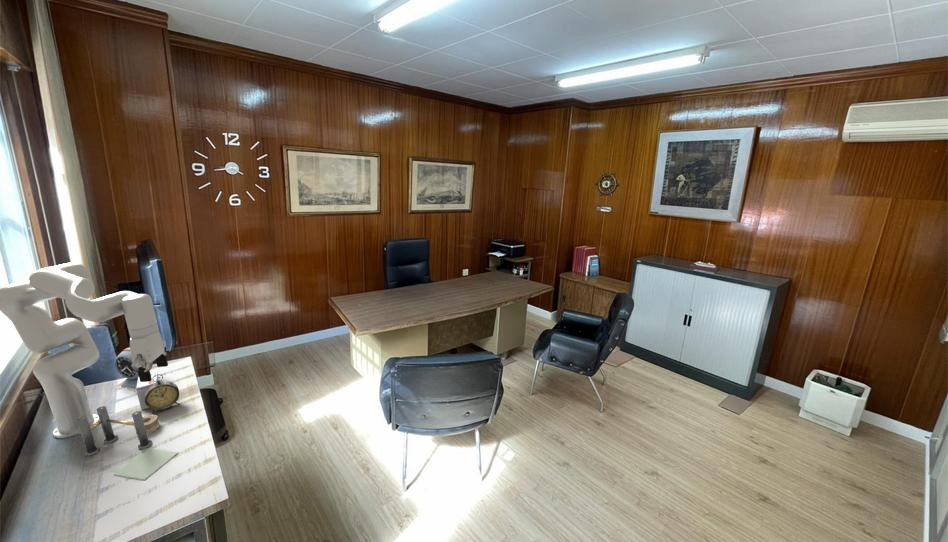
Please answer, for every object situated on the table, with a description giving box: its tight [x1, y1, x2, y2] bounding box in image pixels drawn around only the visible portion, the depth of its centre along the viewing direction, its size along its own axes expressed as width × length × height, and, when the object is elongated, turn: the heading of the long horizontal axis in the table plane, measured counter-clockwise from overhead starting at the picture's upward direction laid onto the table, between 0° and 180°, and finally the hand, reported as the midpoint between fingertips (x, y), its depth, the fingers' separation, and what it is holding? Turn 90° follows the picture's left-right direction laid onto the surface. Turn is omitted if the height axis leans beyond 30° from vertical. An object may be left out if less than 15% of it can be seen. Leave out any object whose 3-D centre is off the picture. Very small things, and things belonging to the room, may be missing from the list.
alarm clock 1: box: [114, 346, 161, 390], centre depth 170 cm, size 14×10×18 cm
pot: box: [134, 414, 160, 435], centre depth 142 cm, size 6×6×4 cm
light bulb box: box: [135, 371, 160, 410], centre depth 157 cm, size 11×7×11 cm, turn 37°
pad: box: [113, 447, 179, 481], centre depth 126 cm, size 12×12×1 cm
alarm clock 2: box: [145, 373, 180, 415], centre depth 152 cm, size 11×5×16 cm, turn 132°
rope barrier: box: [77, 405, 153, 457], centre depth 130 cm, size 19×10×14 cm, turn 81°
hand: (154, 373), depth 130 cm, fingers open, 9 cm apart
